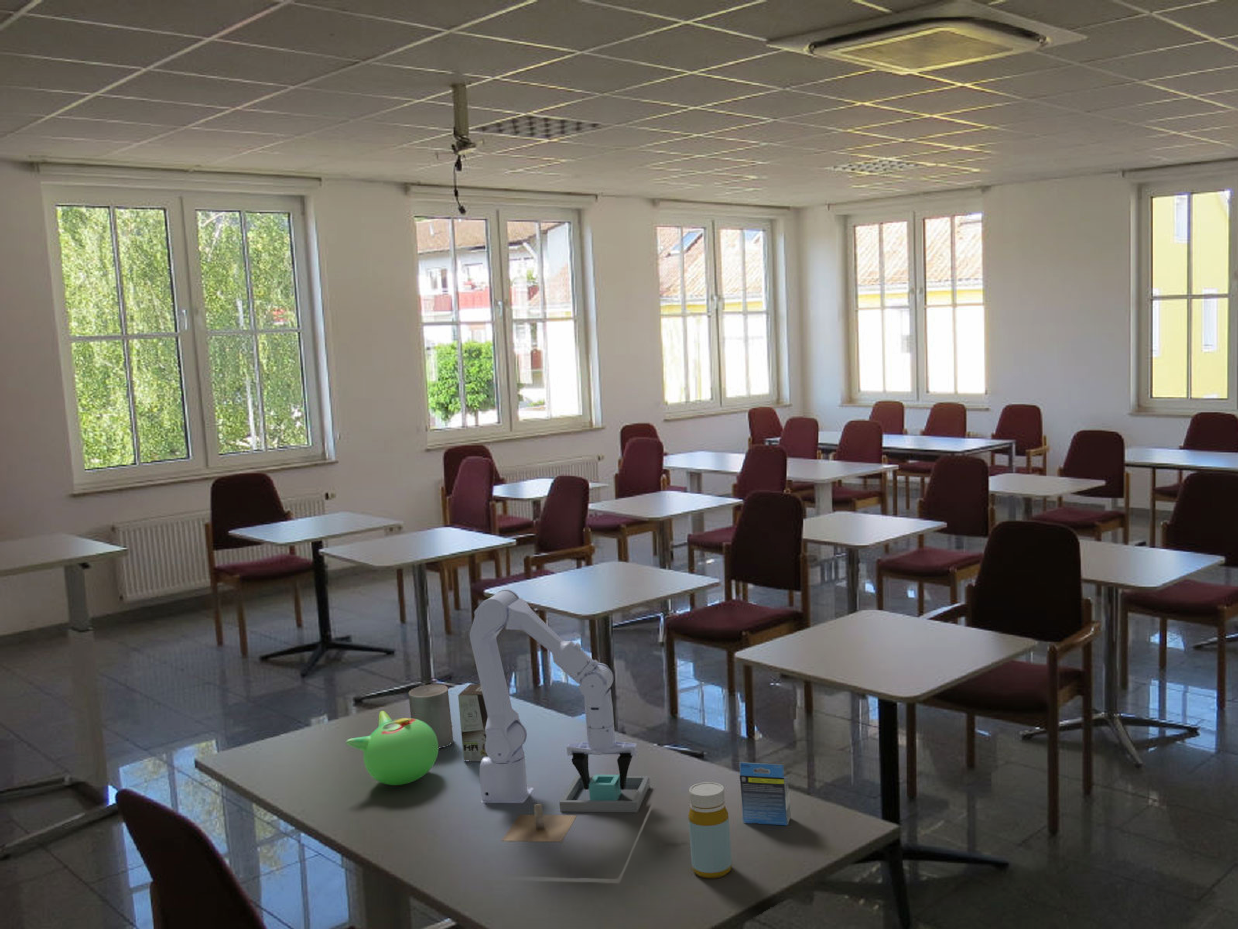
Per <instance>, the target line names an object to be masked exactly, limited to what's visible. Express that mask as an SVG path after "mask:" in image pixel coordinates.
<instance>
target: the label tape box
mask: <svg viewBox="0 0 1238 929" xmlns="http://www.w3.org/2000/svg"><path fill="white" fill-rule="evenodd" d="M760 769H762V770H764V771H768V772H758V771H757V772H755V770H760ZM784 771H785V770H784V764H773V763H772V764H771V763H770V764H769V763H757V762H756V763H755V762H743V761H739V784H740V795H741V796H740V797H741V799H740V800H741V811H742V822H743V823H744V822H745V823H744V824H752V823H758V824H757V825H775V826H776V825H777V826H778V825H779V826H789V823H790V820H791V818H792V817H791V803H790V790H789V778H788V777H786V776H784V775H785V773H784Z"/></svg>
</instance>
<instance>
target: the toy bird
mask: <svg viewBox="0 0 1238 929" xmlns="http://www.w3.org/2000/svg"><path fill="white" fill-rule="evenodd" d="M345 744H346V745H347V746H349V747H351V748H354V749H357V750H360V751H362V752H363V754H362V755H363V757H362V758H363V763H364V764H363V765H364V766H365V769H366V771H367V772H368V774H369V776H371V777H372V778H373V779H374V780H376V781H378V783H380V784H384V785H387V786H388V785H389V786H390V785H391V786H398V785H399V786H401V785H406V784H410V783H413V782H416V781H417V780H419V779H421V778H423V777H424V776H425V775H426V774H427V773H428V772H429V771H430V770H431V769H432V768H433V766H434V764H435V763H436V760H437V758H438V753H439V749H438V740H437V737H436V735H435V733H434V731H433V730H432V728H431V727H430V726H429V725H427V724H426V723H424V722H423V721H420V720H417V719H413V718H411V717H402V718H401V717H400V718H399V717H398V718H393V719H392V718H391V717H390V715H389V714H388V713H387V712H386V711H384V710H381V711H380V712H379V715H378V727H377V728H376V729H375V730H374V731H372V732H371V734H370V735H366V736H358V737H353V738H349V739H347V740H346V741H345Z"/></svg>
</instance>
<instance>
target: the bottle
mask: <svg viewBox="0 0 1238 929" xmlns="http://www.w3.org/2000/svg"><path fill="white" fill-rule="evenodd" d="M688 795H689V796H688V797H689V798H688V799H689V807H690V808H689V811H688V828H689V843H690V844H689V845H690V854H691V855H690V857H691V865H692V866H691V867H692V871H693V872H694V873H695V874H696V875H697V876H699V877H701V878H705V879H718V878H722V877H724V876H726V875H727V874H728V873H729V872H730V871H731V869H732V867H733V866H732V865H733V864H732V862H733V861H732V860H733V859H732V851H731V850H732V848H731V847H732V846H731V833H730V822H729V820H730V818H729V813H728V810H727V807H726V804H725V802H726V797H725V787H724V786H723V785H722V784H721V783H719V782H712V781H705V782H698V783H695V784H693V785H692V786H690V787H689V789H688Z"/></svg>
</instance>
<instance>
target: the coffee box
mask: <svg viewBox="0 0 1238 929" xmlns="http://www.w3.org/2000/svg"><path fill="white" fill-rule="evenodd" d="M457 696H458V697H457V699H458V710H459V722H460V723H459V725H460V732H461V744H462V746H461V747H462V756H463V761H464V760H465V761H464V762H467V761H466V760H469V761H468V762H481V761H482V759H483V758H484V757H488V755H487V754H486V751H485V742H486V733H485V727H486V723H487V719H488V715H487V710H486V706H485V702H484V697H483V693H482V689H481V685H480V683H470V684H469V685H467V686H466V687H465V688H464V689H462V691H461V692H460V693H458V695H457Z"/></svg>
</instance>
